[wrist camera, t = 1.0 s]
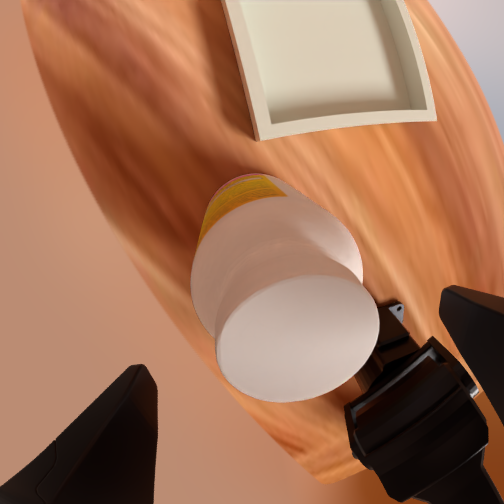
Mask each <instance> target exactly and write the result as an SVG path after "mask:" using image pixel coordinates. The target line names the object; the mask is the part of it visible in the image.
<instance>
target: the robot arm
mask: <svg viewBox="0 0 504 504" xmlns="http://www.w3.org/2000/svg"><path fill="white" fill-rule="evenodd" d="M398 307H399V308H398ZM397 308H398V309H397ZM377 310H378V314H379V333H378V338H377V341H376V345H375V347H374V349H373V351H372V353H371V355H370V356H369V358H368V359H367V361H366V362H365V364H364V365H363V366H362V367H361V368H360V369H359V371H358V372H356V373H355V374H354V376H355V378H356V380H357V382H358V384H359V386H360V388H361V390H362V392H363V394H362V395H361V396H359V397H358V398H356V399H355V400H354V401H352V402H351V403H350V402H349V403H347V404H346V405H344V411H345V420H346V426H347V431H348V437H349V442H350V448H351V450H352V455H353V457H354V458H355V459H359V460H360V462H361V463H362V464H363V465H364V466H365V467H366V468H368V469H369V470H374V471H375V473H376V474H377V475H378V477H379V479H380V481H381V482H382V484H383V486H384V488H385V490H386V492H387V494H388V495H389V496H390V497H391V498H393V499H395V500H397V501H398V502H404V501H406V500H408V499H410V498H413V499H417V500H420V501H423V502H427V503H428V504H504V501H503V500H502V498H501V496H500V494H499V492H498V490H497V488H496V487H495V485H494V483H493V481H492V480H491V478H490V476H489V474H488V472H487V471H486V469H485V468H484V466H483V460H484V452H485V446H486V445H487V444H488V426H487V423H486V419H485V417H484V415H483V414H482V412H481V411H480V409H479V407H478V406H477V404H476V403H475V401H474V400H473V398H474V397H475V396H476V395H477V394H478V393H479V390H478V388H477V386H476V384H475V383H474V381H473V379H472V378H471V376H470V375H469V374H468V372H467V371H466V370H465V368H464V367H463V366H462V365H461V363H460V362H459V361H458V360H457V359H456V358H455V357H454V356H453V355H452V354H451V353H450V352H449V351H448V350H447V349H446V348H445V347H444V346H443V345H442V344H441V343H440V342H439V341H437V340H436V339H435V338H434V337H433V336H432V337H430V338H429V339H428V340H427V341H428V342H427V343H426V344H424V345H423V346H422V347H421V348H420V346H419V345H418V344H417V343H416V342H415V340H414V339H413V338H412V337H411V335H410V333H409V331H408V330H407V329H406V328H405V327H404V325H403V324H402V323H403V312H404V305H403V304H402V303H401V302H396V303H393V304H390V305H387V306H384V307H381V308H378V309H377ZM439 316H440V318H441V320H442V322H443V324H444V325H445V327H446V329H447V331H448V332H449V334H450V336H451V338H452V340H453V341H454V343H455V345H456V347H457V349H458V350H459V352H460V354H461V355H462V357H463V359H464V360H465V362H466V363H467V365H468V366H469V368H470V369H471V371H472V372H473V374H474V376H475V377H476V379H477V380H478V382H479V384H480V385H481V387H482V389H483V390H484V392H485V393H486V395H487V397H488V399H489V400H490V402H491V404H492V406H493V407H494V409H495V411H496V413H497V414H498V416H499V418H500V420H501V422H502V424H503V426H504V298H503V297H499V296H496V295H492V294H488V293H484V292H480V291H476V290H472V289H468V288H464V287H460V286H456V285H451V286H449V287H446V288H444V289H443V290H442V293H441V300H440V306H439ZM157 397H158V390H157V385H156V383H155V381H154V379H153V378H152V376H151V375H150V373H149V371H148V369H147V367H146V366H145V365H143V364H137V365H131V366H129V367H128V368H127V369H126V370H125V371H124V372H123V373H122V374H121V375H120V376H119V377H118V378H117V379H116V380H115V381H114V382H113V383H112V384H111V385H110V386H109V387H108V388H107V389H106V390H105V391H104V392H103V393H102V394H101V395H100V396H99V397H98V398H97V399H96V400H95V401H94V402H93V403H92V404H91V405H89V407H87V408H86V409H85V410H84V411H83V412H82V413H81V414H80V415H79V416H78V417H77V418H76V419H75V420H74V421H73V422H72V423H71V424H70V425H69V426H68V427H67V428H66V429H65V430H64V431H63V432H62V433H61V434H60V435H59V436H58V437H57V438H56V440H54V441H53V442H52V443H51V444H50V445H49V446H48V447H47V448H46V449H45V450H44V451H43V452H42V453H40V454H39V455H38V456H37V457H36V458H35V459H34V460H33V461H31V462H30V463H29V464H28V465H27V466H26V467H24V468H23V469H22V470H21V471H19V472H18V473H17V474H16V475H15V476H13V477H12V478H11V479H9V480H8V481H7V482H6V483H4V484H3V485H2V486H0V504H153V503H154V481H155V465H156V452H157V439H158V407H157V406H158V404H157V403H158V398H157Z"/></svg>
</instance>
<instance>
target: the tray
mask: <svg viewBox="0 0 504 504" xmlns="http://www.w3.org/2000/svg"><path fill="white" fill-rule="evenodd" d="M221 3H222V7H223V11H224V14H225V18H226V22H227V26H228V29H229V33H230V37H231V41H232V45H233V48H234V52H235V56H236V60H237V64H238V68H239V72H240V76H241V80H242V84H243V88H244V92H245V97H246V101H247V105H248V109H249V113H250V118H251V122H252V126H253V131H254V135H255V139H256V142H257V141H263V140H268V139H273V138H278V137H284V136H289V135H295V134H301V133H307V132H314V131H320V130H327V129H335V128H343V127H352V126H361V125H371V124H383V123H397V122H417V121H437V117H436V111H435V105H434V100H433V95H432V90H431V85H430V81H429V77H428V73H427V69H426V65H425V61H424V58H423V54H422V51H421V47H420V44H419V41H418V38H417V35H416V32H415V29H414V26H413V23H412V20H411V18H410V15H409V12H408V10H407V7H406V5H405V2H404V0H221Z"/></svg>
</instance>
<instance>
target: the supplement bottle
mask: <svg viewBox="0 0 504 504" xmlns="http://www.w3.org/2000/svg"><path fill="white" fill-rule="evenodd" d="M362 283H363V267H362V260H361V256H360V253H359V250H358V247H357V245H356V243H355V241H354V239H353V237H352V235H351V234H350V232H349V231H348V229H347V228H346V227H345V226H344V225H343V224H342V223H341V222H340V221H339V220H338V219H337V218H336V217H335V216H333V215H332V214H331V213H330V212H328V211H327V210H325V209H324V208H322V207H321V206H319V205H318V204H317V203H315V202H314V201H312V200H311V199H309V198H308V197H306V196H305V195H304V194H302V193H301V192H299V191H298V190H296V189H295V188H293V187H292V186H290V185H288V184H287V183H285V182H284V181H282V180H280V179H278V178H276V177H274V176H271V175H267V174H258V173H256V174H246V175H242V176H239V177H236V178H234V179H232V180H230V181H228V182H227V183H225V184H224V185H223V186H222V187H221V188H219V189H218V191H217V192H216V193H215V194H214V195H213V197H212V199H211V200H210V202H209V204H208V207H207V209H206V212H205V216H204V219H203V223H202V227H201V231H200V235H199V239H198V244H197V248H196V252H195V256H194V260H193V265H192V271H191V282H190V288H191V296H192V301H193V305H194V308H195V311H196V313H197V316H198V317H199V319H200V321H201V323H202V324H203V326H204V327H205V329H206V330H207V331H208V333H209V334H210V335H211V336H212V337H213V338H214V339H215V353H216V359H217V363H218V365H219V368H220V370H221V372H222V374H223V375H224V377H225V378H226V379H227V381H228V382H229V383H230V384H231V385H232V386H233V387H235V388H236V389H238V390H239V391H241V392H243V393H244V394H246V395H249V396H251V397H253V398H256V399H260V400H264V401H269V402H295V401H302V400H306V399H311V398H314V397H317V396H320V395H322V394H325V393H327V392H329V391H331V390H333V389H335V388H337V387H338V386H340V385H341V384H343V383H344V382H346V381H347V380H348V379H350V378H351V377H352V376H353V375H354V374H355V373H356V372H358V371H359V369H360V368H361V367H362V366H363V365H364V364H365V362H366V361H367V359H368V358H369V356H370V355H371V353H372V351H373V349H374V347H375V345H376V341H377V338H378V333H379V314H378V310H377V307H376V304H375V302H374V300H373V298H372V296H371V295H370V293H369V292H368V291H367V290H366V288H365V287H364V286H363V285H362Z"/></svg>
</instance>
